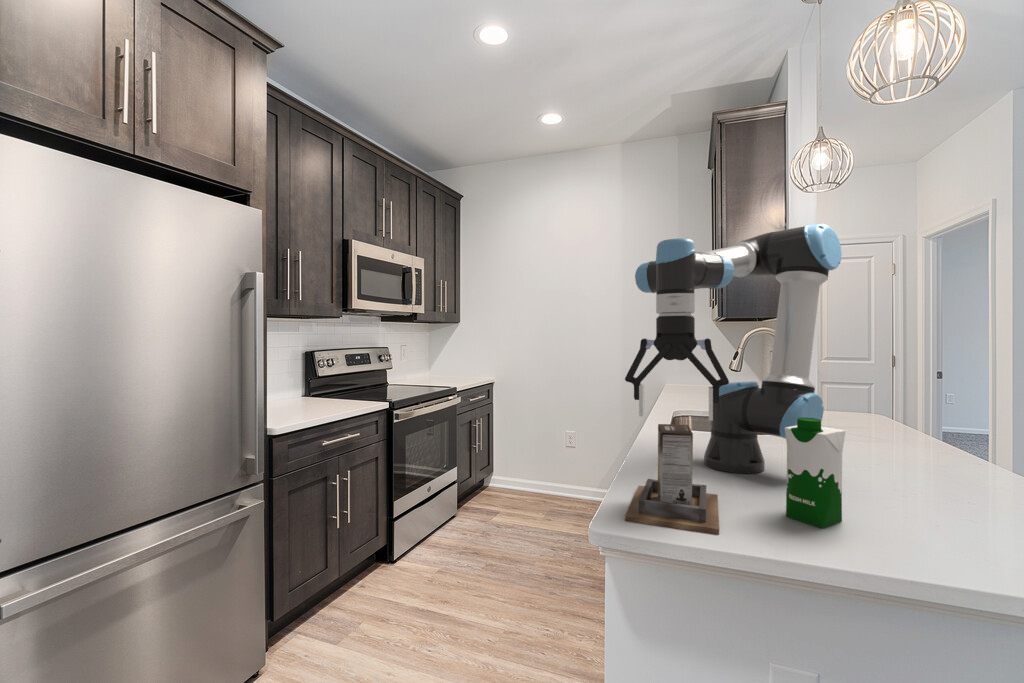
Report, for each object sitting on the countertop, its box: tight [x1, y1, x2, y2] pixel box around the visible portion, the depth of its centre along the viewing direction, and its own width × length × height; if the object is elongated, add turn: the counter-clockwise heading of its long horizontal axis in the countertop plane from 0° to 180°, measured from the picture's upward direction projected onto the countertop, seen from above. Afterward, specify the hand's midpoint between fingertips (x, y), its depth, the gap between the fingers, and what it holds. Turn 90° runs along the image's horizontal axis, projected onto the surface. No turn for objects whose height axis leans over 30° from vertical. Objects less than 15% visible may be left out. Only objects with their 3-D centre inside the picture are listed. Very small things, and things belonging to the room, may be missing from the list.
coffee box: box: [657, 423, 694, 505], centre depth 101 cm, size 9×6×16 cm
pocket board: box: [624, 478, 720, 535], centre depth 101 cm, size 17×20×4 cm
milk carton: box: [785, 418, 846, 529], centre depth 96 cm, size 9×9×20 cm
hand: (675, 417), depth 101 cm, fingers open, 13 cm apart
